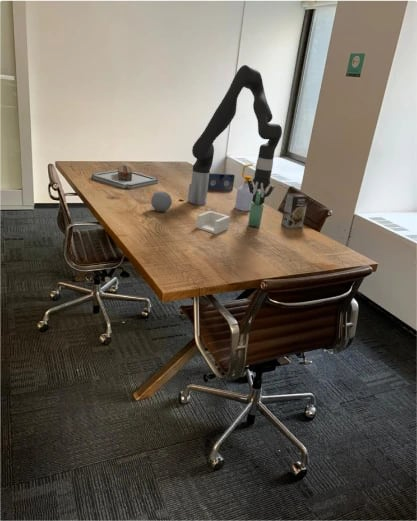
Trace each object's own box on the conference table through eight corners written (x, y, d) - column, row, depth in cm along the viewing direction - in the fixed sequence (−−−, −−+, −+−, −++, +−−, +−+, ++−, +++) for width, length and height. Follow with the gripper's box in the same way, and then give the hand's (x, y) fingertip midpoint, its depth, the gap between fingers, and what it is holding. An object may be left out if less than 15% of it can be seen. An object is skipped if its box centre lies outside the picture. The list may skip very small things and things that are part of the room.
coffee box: (288, 228, 221) (294, 196, 215) (280, 224, 227) (286, 193, 220) (302, 227, 226) (309, 196, 219) (295, 223, 231) (301, 192, 224)
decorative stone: (159, 206, 229) (161, 187, 225) (174, 212, 224) (176, 192, 220) (146, 210, 221) (147, 190, 217) (161, 215, 216) (163, 195, 212)
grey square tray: (160, 184, 274) (161, 172, 271) (127, 191, 250) (127, 178, 247) (123, 173, 288) (124, 161, 285) (88, 179, 264) (89, 166, 261)
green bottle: (245, 223, 217) (251, 191, 211) (251, 221, 222) (256, 190, 215) (256, 227, 214) (262, 195, 208) (262, 224, 219) (268, 193, 213)
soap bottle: (250, 212, 239) (257, 166, 230) (233, 209, 241) (240, 163, 231) (251, 207, 247) (259, 163, 238) (235, 205, 249) (242, 161, 239)
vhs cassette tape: (231, 189, 280) (233, 174, 276) (232, 191, 278) (235, 175, 274) (203, 188, 274) (205, 172, 270) (205, 190, 272) (207, 174, 268)
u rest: (195, 227, 206) (197, 215, 203) (208, 222, 214) (210, 210, 212) (216, 234, 201) (217, 221, 198) (228, 228, 209) (230, 216, 207)
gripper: (281, 170, 207) (274, 205, 214) (254, 163, 213) (248, 198, 220) (274, 172, 201) (267, 208, 208) (246, 165, 207) (241, 201, 214)
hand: (257, 203), depth 214 cm, fingers closed on green bottle, 3 cm apart
